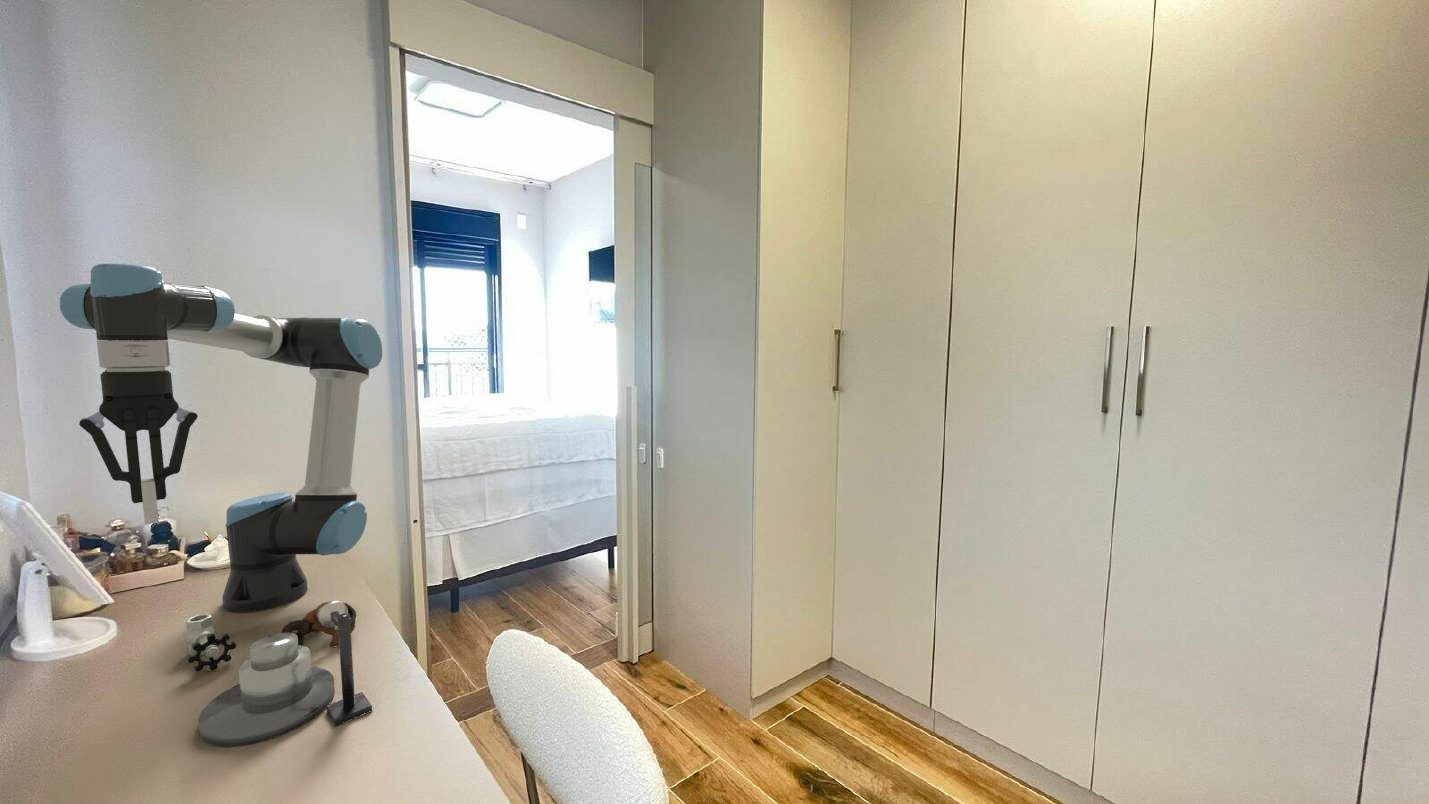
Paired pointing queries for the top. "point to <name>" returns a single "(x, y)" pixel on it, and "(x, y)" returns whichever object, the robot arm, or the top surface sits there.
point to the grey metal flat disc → (261, 715)
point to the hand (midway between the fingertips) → (151, 521)
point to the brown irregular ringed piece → (317, 626)
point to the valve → (205, 642)
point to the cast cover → (275, 674)
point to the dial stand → (343, 665)
